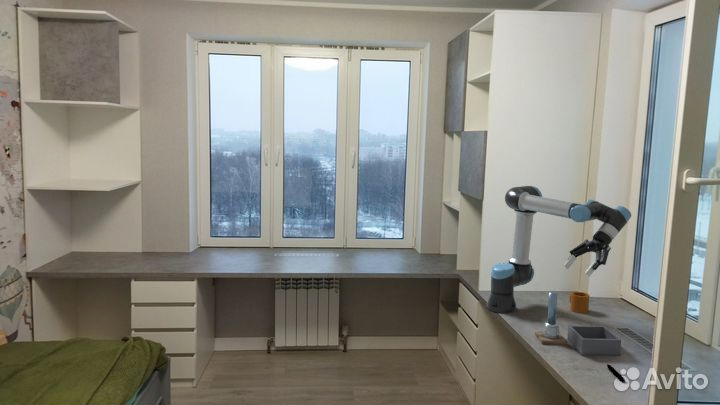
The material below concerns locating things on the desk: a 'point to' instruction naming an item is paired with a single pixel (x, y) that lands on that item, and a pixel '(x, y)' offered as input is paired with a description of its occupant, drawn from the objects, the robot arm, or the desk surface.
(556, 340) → the stud base
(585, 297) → the mug
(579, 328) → the bin
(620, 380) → the pen
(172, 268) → the desk surface
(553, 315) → the strut
